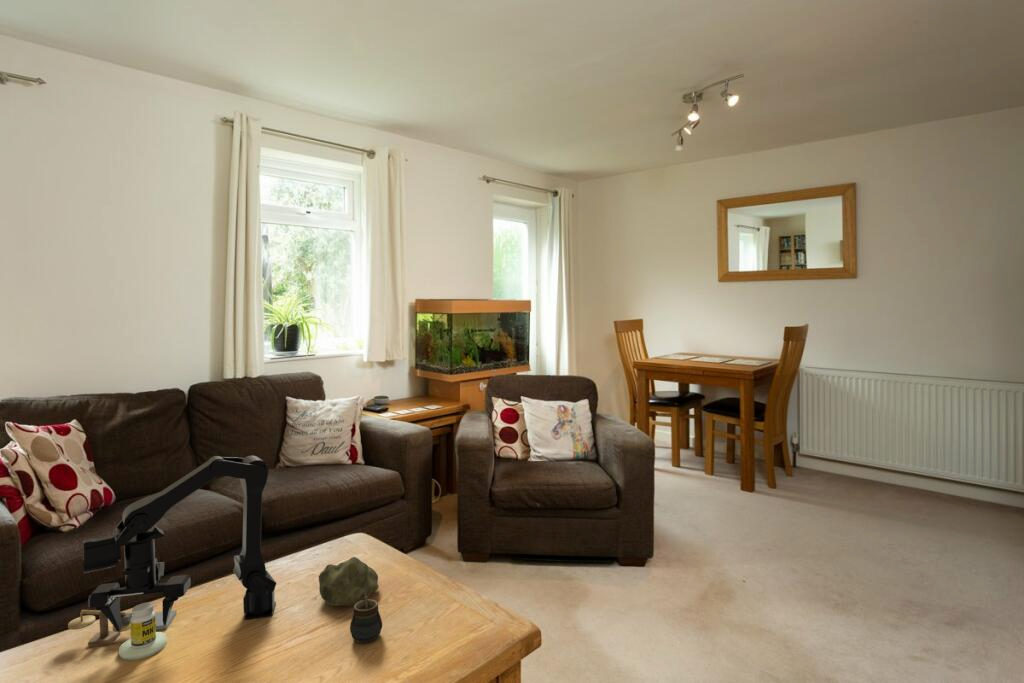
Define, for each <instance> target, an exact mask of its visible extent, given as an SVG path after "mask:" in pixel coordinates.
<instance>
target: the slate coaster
mask: <svg viewBox="0 0 1024 683" xmlns="http://www.w3.org/2000/svg"><path fill="white" fill-rule="evenodd" d="M176 615H177V609H174V610H172V609H171V612H170V615H169V619H168V622H167V624H166V625H164V624H163V611H158V612H157V611H156V612H155V621H156V631H159V630H161V631H162V630H166V629H168V628H169V627H170V625H171V623H172V621H173V620H174V618H175V617H176Z"/></svg>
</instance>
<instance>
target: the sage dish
mask: <svg viewBox="0 0 1024 683" xmlns="http://www.w3.org/2000/svg"><path fill="white" fill-rule="evenodd" d="M167 640H168V639H167V634H165V633H164V632H161V631H156V640H155V641H154V642H153V643H152V644H151V645H149V646H146V647H143V648H133V647H132V646H131V638H129V639H126V641H124V642H123V643H122V644H121V645H120V646H119V648H118V654H119V658H120V659H121V660H124V661H137V660H142V659H145V658H148V657H152V656H153V655H155V654H157V653H158V652H160V651H162V650H163V649H164V648H165V646H166V645H167V642H168V641H167Z"/></svg>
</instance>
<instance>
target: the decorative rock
mask: <svg viewBox="0 0 1024 683" xmlns="http://www.w3.org/2000/svg"><path fill="white" fill-rule="evenodd" d="M318 582H319V594H320V596H321V598H322V599H323V600H324V602H326V603H327V604H328V605H331V606H333V607H334V606H336V607H338V606H354V605H355V604H356V603H357V602H359V601H362V600H364V599H365V596H364V589H366V593H367V597H369V595H371V593H372V592H374V591H376V590H378V589H379V583H378V582H379V576H378V573H377V572H376V571H375V570H374V569H373V568H372V567H370V566H368V564H367V563H366V562H363V561H361V560H360V559H359V558H358V557H356V556H351V557H350V558H349V559H347V560H345V561H344V562H340V563H338V564H337V565H336V564H330V563H329V564H327V565H326V566H325V568H324V569H323V570H322V571H321V572H320V573H319V575H318Z"/></svg>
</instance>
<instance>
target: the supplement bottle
mask: <svg viewBox="0 0 1024 683" xmlns="http://www.w3.org/2000/svg"><path fill="white" fill-rule="evenodd" d="M131 613H132V618H131V620H130V624H131V629H130V639H131V646H132V647H133V648H143V647H146V646H149V645H151V644H152V643H153V642H154V641H155V640H156V632H157V630H156V621H155V613H156V612H155V611H154V604H153V603H152V602H142V603H140V604H139V603H138V604H137V605H135V606H133V607H132V609H131Z"/></svg>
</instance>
